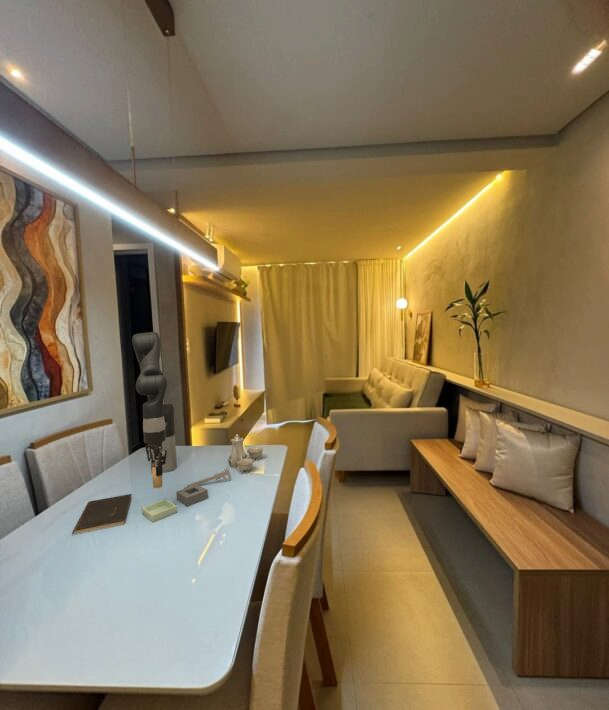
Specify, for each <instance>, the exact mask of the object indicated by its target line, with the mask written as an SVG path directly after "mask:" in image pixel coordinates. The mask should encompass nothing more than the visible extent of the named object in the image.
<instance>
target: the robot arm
mask: <svg viewBox="0 0 609 710" xmlns="http://www.w3.org/2000/svg"><path fill="white" fill-rule="evenodd" d="M131 341H132V347H133V350H134V353H135V355H136V359H137V362H138V366H139V370H140V374H139V376H138V377H137V379H136V383H135V390H136V392H137V393H138V395H141V396H146V397H147V401H146V402H145V401H144V403H143V404H142V418H143V421H142V430H143V431H142V432H143V433H142V434H143V443H144V444H146V445H144V446H145V447H144V449H145V452H146V453H145V454H146V457H147V462H149V464H150V468H151V473H152V463H153V462H155V466H156V476H161V475H162V476H163V474H164V473H167V472H171V471H174V470H176V469H177V466H178V465H177V448H176V433H175V430H176V429H175V407H174V405H173V404H171V403H164V399H165V395H166V390H167V387H168V381H167V378H166V377H165V376H164V373H163V371H162V370H161V366H160V365H161V364H160V360H161V354H162V353H161V352H162V344H161V338H160V336H159V334H158V333H157V331H150V332H140V333H135V334H133V336H132V339H131Z"/></svg>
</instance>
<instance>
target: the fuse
mask: <svg viewBox="0 0 609 710" xmlns="http://www.w3.org/2000/svg"><path fill="white" fill-rule="evenodd" d="M151 474H152V488H153V489H160V488H162V487H163V474H162V475H161V476H156V466H155V462H153V463H152V472H151Z"/></svg>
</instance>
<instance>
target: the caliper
mask: <svg viewBox="0 0 609 710" xmlns="http://www.w3.org/2000/svg"><path fill="white" fill-rule="evenodd" d="M226 476H227V477H228V480H229V481H231V472H230V470H229V469H228V468H227V467H226V468H224V469H223V470H222V471H220V472H217V473H215V474H213V475H211V476H208V477H205V478H203V479H201V480H200V479H199V480H197V481H194V482H191V483H189V484H186V486H184V487H183V489H185V488H187V487H190V486H193V485H196V484H197V485H199V486H201V485H202V484H206V483H208V482H210V481H214V480H215V481H218V480H221V479H222V478H223V480H224V481H225V482H227V477H226Z"/></svg>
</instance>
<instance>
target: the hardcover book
mask: <svg viewBox="0 0 609 710" xmlns="http://www.w3.org/2000/svg"><path fill="white" fill-rule="evenodd" d="M131 498H132V493H129V494H123V495H118V496H117V495H116V496H111V497H107V498H101V499H95V500H89V501H88V502H87V503H86V505H85V507H84V510H83V511H82V513H81V514H80V516H79V519H78V520H77V522H76V524H75V526H74V528H73V530H72V532H71V533H72V534H75V533H80V534H84V533H83V532H85V533H89V532H88V531H90V532H94V530H95V531H98V530H99V529H100V530H103V528H104V529H108V527H109V528H113V527H119V526H124V524H125V522H126V517H127V514H128V511H129V506H130V502H131ZM72 534H71V535H72ZM75 535H76V534H75Z"/></svg>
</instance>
